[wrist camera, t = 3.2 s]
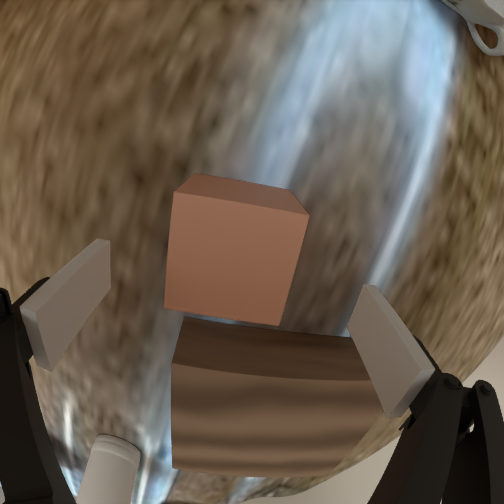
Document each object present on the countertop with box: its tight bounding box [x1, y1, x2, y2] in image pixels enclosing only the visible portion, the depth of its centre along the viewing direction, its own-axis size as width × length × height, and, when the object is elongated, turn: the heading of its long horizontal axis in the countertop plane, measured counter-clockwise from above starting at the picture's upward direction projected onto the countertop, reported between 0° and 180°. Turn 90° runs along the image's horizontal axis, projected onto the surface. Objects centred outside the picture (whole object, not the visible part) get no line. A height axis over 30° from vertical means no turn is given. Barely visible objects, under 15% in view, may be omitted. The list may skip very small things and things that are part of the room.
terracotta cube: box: [164, 173, 309, 326], centre depth 19 cm, size 7×7×7 cm
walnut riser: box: [171, 317, 384, 477], centre depth 27 cm, size 20×20×6 cm
